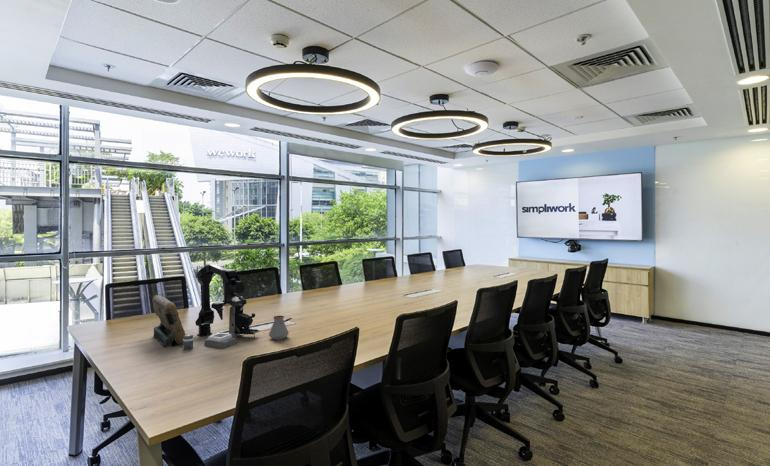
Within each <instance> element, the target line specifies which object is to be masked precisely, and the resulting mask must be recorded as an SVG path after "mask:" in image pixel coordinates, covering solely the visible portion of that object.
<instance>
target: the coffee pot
mask: <svg viewBox="0 0 770 466" xmlns="http://www.w3.org/2000/svg"><path fill="white" fill-rule="evenodd" d="M272 318H273V320H274V321H273V323H272V325H271V327H270V331H269V333H268V335H269V337H270V338H271V339H272V340H276V341H281V340H284V339H286V338H287V337H288V336H289V333H290V332H289V330H288V327H287V326H286V322H289V321H292V320H294V318H293V317H288V318H287V319H284V318H285V316H284V315H275V316H273V317H272Z"/></svg>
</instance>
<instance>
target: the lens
mask: <svg viewBox="0 0 770 466" xmlns="http://www.w3.org/2000/svg"><path fill="white" fill-rule="evenodd" d="M193 349H194V335H193V334H186V335H184V336H183V345H182V350H183V351H189V350H190V351H191V350H193Z"/></svg>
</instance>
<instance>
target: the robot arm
mask: <svg viewBox="0 0 770 466" xmlns="http://www.w3.org/2000/svg"><path fill="white" fill-rule="evenodd" d="M213 275H218V276H219V277H220V278H221V279H222V280H223V281H222V282H221V283H222V284H223V293H222V295H223V300H222V302H219V301H216V302H212V303H211V292H210V291H211V290H210V284H211V282H212V280H213ZM196 279H197V282H198V284H200V304H201V305H200V308H201V309H200V311H199V312H198V317H197V319H196V320H195V323H194V324H195V326H196V327H198V333H196V336H200V337H206V336H209V335H210V336H211V335H213V332H211V329H212V327H211V324H214V320H215V311H216V313H217V314H218V316H219V318H220V320H221V321H223V319H224V316H223V315H224V314H223V313H224V312H223V311H224V307H226V306H230V307H231V306H233V307H234V306H235V313H236V317H238V314H239V312H240V309H241V308H242V307H243V308H244V307H245V305H247V299H245V298H244V297H243V296H242V295H241V296H237V294H239V295H240V294H242V293H244V291H245V288H246V287H245V285H244V284H243V283H242V282H243V281H242V280H241V278H240V276H239V274H238V272H237V270H236V269H233V268H225V267H222V266H219V265H217V264H216V263H208V264H206V265H205V266H204V267H202V268H201V269H199V270H198V271H197V272H196Z"/></svg>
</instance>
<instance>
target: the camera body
mask: <svg viewBox="0 0 770 466" xmlns="http://www.w3.org/2000/svg"><path fill="white" fill-rule="evenodd" d="M237 339H238V338H237V337H235V338H233V337H232V334H229V333H226V332H217V333H215V334H211V335H210V336H209V335H208V338H205V339H203V345H204V346H207V347H208V346H209V347H214V348H218V349H224V348H228V347H231V346H233V345H235V344H237V343H238V342H237Z"/></svg>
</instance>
